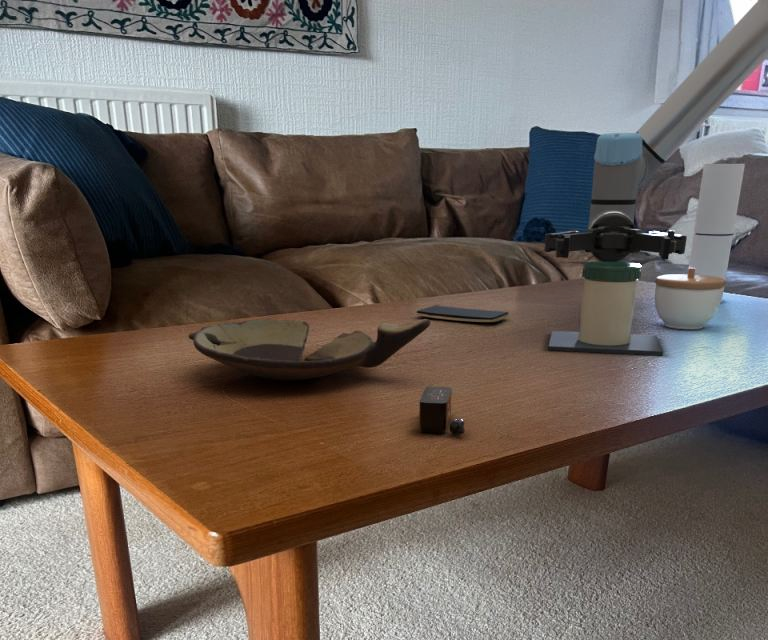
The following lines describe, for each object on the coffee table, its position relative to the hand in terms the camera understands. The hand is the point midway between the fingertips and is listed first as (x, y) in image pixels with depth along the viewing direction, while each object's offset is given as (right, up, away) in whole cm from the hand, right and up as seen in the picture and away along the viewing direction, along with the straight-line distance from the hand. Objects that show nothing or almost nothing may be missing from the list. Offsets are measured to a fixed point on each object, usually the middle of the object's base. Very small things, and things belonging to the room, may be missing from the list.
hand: (615, 248), depth 109 cm
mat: (+1, -12, +9) cm, 14 cm away
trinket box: (+18, -6, +22) cm, 29 cm away
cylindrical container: (+31, +5, +47) cm, 57 cm away
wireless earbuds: (-27, -28, -29) cm, 48 cm away
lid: (+1, -1, +4) cm, 4 cm away
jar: (+1, -11, +8) cm, 14 cm away
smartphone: (-19, -3, +29) cm, 34 cm away
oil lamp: (-43, -20, -9) cm, 48 cm away
